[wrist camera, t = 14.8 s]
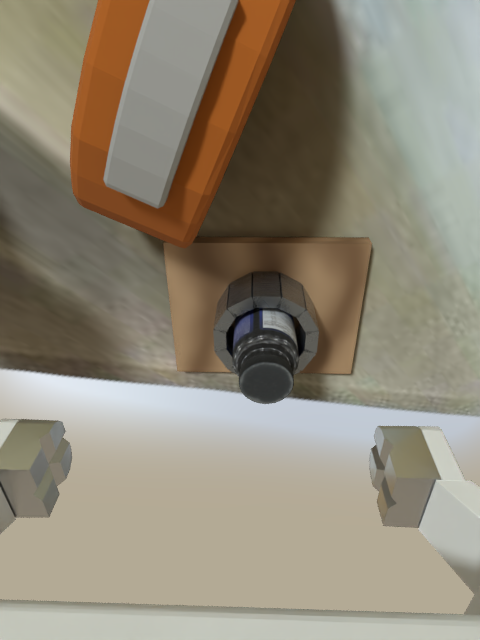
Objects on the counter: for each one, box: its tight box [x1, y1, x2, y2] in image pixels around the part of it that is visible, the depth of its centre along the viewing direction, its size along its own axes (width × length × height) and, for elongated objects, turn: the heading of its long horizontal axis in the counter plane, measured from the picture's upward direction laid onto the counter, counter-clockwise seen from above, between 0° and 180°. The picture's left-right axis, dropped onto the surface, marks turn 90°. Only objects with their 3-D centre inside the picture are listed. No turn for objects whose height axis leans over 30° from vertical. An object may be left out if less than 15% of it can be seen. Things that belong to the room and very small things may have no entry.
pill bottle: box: [232, 308, 299, 404], centre depth 42 cm, size 6×6×11 cm
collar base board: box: [163, 237, 372, 374], centre depth 47 cm, size 20×16×2 cm
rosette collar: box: [213, 271, 319, 374], centre depth 45 cm, size 10×10×5 cm
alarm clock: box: [70, 0, 296, 248], centre depth 29 cm, size 23×9×17 cm, turn 156°
